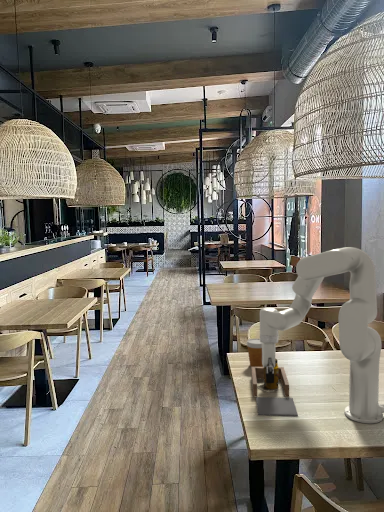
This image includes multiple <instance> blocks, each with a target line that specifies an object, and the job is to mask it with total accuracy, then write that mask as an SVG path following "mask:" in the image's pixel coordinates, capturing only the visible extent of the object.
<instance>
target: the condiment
mask: <svg viewBox="0 0 384 512" xmlns="http://www.w3.org/2000/svg"><path fill="white" fill-rule="evenodd" d="M267 366H269V365H267ZM278 367H279V365H278V359H277V358H275V367H274V383H266V373H267V368H266V367H264V379H263V384H260V385H257V389H259V390H261V391H263V392H266V393H268V394H269V393H271V392H274V391H275V392H276V391H278V390H280V389H283V386H280V385H279V381H280V379H278V370H279V368H278ZM268 369H269V368H268Z"/></svg>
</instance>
